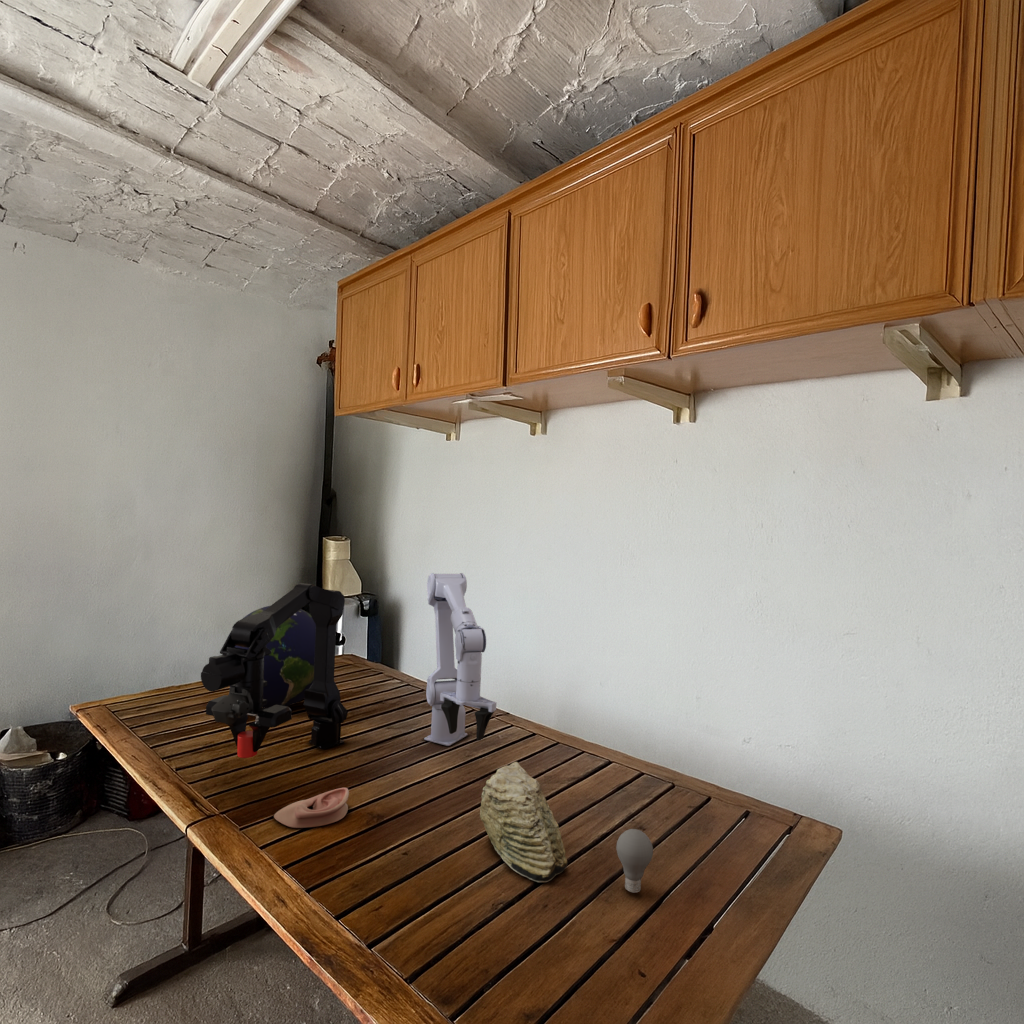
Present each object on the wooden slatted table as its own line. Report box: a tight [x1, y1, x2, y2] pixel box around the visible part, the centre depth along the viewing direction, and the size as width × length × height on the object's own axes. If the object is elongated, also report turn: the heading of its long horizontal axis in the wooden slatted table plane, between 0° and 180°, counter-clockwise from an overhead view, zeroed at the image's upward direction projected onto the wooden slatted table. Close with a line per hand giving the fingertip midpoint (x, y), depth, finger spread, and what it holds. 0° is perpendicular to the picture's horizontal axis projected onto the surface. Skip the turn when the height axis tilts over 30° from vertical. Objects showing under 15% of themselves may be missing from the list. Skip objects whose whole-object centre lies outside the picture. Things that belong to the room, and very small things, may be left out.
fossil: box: [479, 761, 569, 883], centre depth 114 cm, size 9×18×15 cm, turn 46°
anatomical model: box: [273, 787, 350, 829], centre depth 126 cm, size 13×4×12 cm
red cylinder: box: [236, 730, 258, 759], centre depth 138 cm, size 4×4×4 cm
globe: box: [221, 605, 316, 709], centre depth 188 cm, size 30×30×30 cm
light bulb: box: [615, 828, 654, 894], centre depth 106 cm, size 6×6×10 cm
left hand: (247, 749), depth 138 cm, fingers closed on red cylinder, 4 cm apart
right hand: (466, 735), depth 151 cm, fingers open, 7 cm apart
